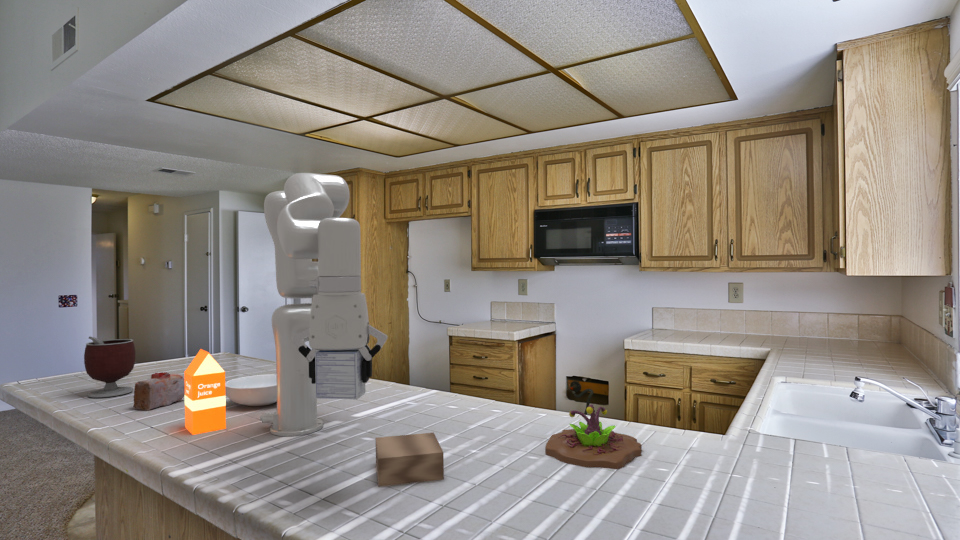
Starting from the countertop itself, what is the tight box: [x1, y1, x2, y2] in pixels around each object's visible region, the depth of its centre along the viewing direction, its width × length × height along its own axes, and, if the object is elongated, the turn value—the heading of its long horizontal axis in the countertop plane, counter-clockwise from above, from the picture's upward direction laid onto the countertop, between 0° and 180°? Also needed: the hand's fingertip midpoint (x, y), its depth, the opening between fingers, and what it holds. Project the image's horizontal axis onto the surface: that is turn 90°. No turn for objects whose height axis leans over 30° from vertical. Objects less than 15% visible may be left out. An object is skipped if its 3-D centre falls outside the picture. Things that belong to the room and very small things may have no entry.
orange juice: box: [183, 348, 227, 436], centre depth 130 cm, size 8×9×20 cm
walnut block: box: [375, 432, 445, 488], centre depth 99 cm, size 12×12×6 cm
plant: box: [544, 404, 643, 470], centre depth 109 cm, size 20×20×11 cm
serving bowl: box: [225, 373, 277, 407], centre depth 155 cm, size 21×21×7 cm
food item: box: [132, 371, 185, 411], centre depth 154 cm, size 14×8×10 cm, turn 167°
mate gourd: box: [83, 336, 136, 398], centre depth 169 cm, size 16×14×20 cm
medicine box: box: [315, 350, 366, 400], centre depth 92 cm, size 8×4×9 cm, turn 83°
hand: (340, 381), depth 92 cm, fingers closed on medicine box, 8 cm apart
